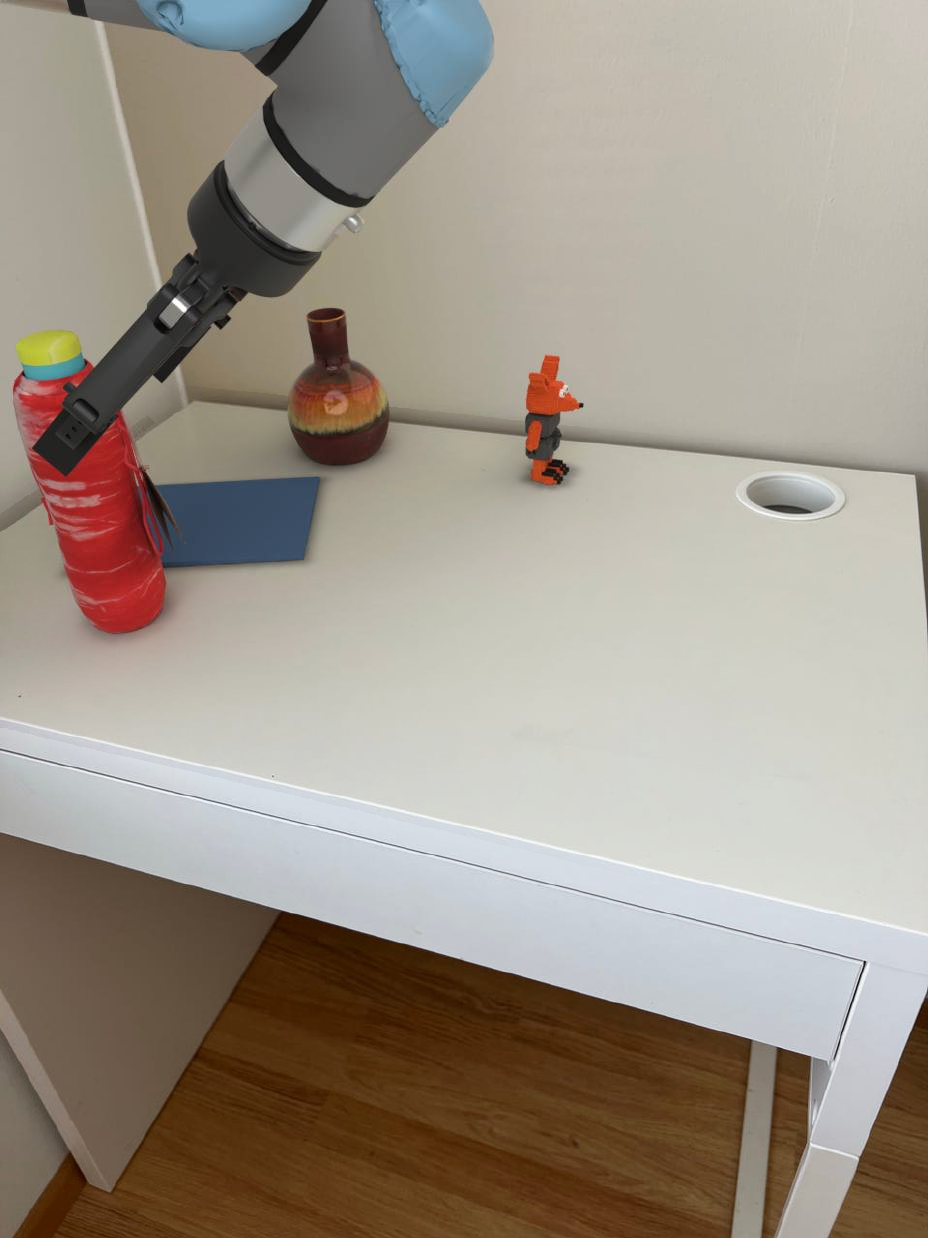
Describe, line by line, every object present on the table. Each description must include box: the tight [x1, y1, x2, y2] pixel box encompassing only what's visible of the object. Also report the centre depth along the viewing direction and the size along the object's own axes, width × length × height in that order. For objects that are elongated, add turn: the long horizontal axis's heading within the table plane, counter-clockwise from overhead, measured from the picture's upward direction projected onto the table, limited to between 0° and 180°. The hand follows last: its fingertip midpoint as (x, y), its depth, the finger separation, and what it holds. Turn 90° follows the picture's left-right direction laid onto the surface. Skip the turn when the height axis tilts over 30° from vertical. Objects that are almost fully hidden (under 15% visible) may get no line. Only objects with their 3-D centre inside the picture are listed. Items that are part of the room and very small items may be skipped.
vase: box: [286, 307, 390, 466], centre depth 108 cm, size 11×11×15 cm
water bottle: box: [12, 329, 186, 634], centre depth 80 cm, size 12×8×25 cm, turn 80°
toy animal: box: [524, 354, 584, 486], centre depth 101 cm, size 8×6×12 cm
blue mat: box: [137, 475, 321, 568], centre depth 100 cm, size 22×16×1 cm
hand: (104, 411), depth 71 cm, fingers open, 13 cm apart
